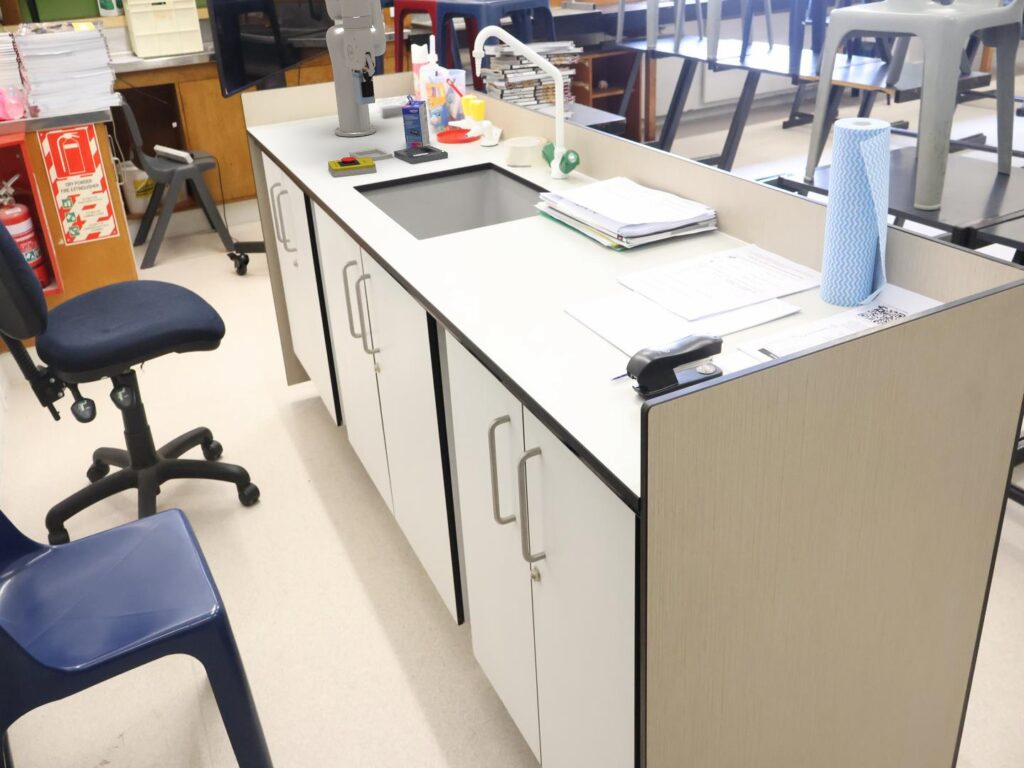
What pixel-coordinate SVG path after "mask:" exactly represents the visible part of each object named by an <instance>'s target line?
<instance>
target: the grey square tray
mask: <svg viewBox="0 0 1024 768" xmlns="http://www.w3.org/2000/svg"><path fill="white" fill-rule="evenodd" d="M348 156H349V157H355V158H362V157H370V158H371V160H372V161H373V162H377V161H381V160H389V159H392V158H394V157H393V156H394V155H393V153H391V152H389V151H386V150H384V149H382V148H380V147H377V148H371V149H366V150H359V151H353V152H349V153H348Z"/></svg>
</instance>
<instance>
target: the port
mask: <svg viewBox="0 0 1024 768" xmlns="http://www.w3.org/2000/svg"><path fill="white" fill-rule="evenodd" d="M448 154H449V153H448V151H446V150H443V149H441V148H438V147H436V146H432V145H430V144H427V145H426V146H421V147H415V148H409V149H407V148H404V149H403V148H402V149H396V150H394V151H393V156H394V157H395V158H397V159H399V160H401V161H403V162H406V163H408V164H410V165H417V164H421V163H428V162H433V161H438V160H439V161H440V160H444V159H449V155H448ZM394 157H393V158H394Z"/></svg>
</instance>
